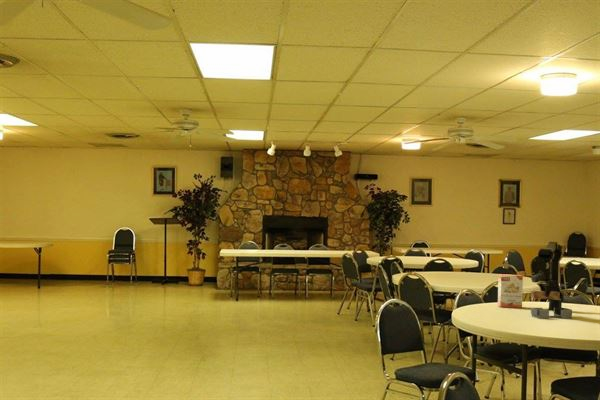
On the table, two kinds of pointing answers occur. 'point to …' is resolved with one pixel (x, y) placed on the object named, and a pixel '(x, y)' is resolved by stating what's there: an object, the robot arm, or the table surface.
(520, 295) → the cracker box
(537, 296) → the walnut rail
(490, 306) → the table surface
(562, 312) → the brackets
